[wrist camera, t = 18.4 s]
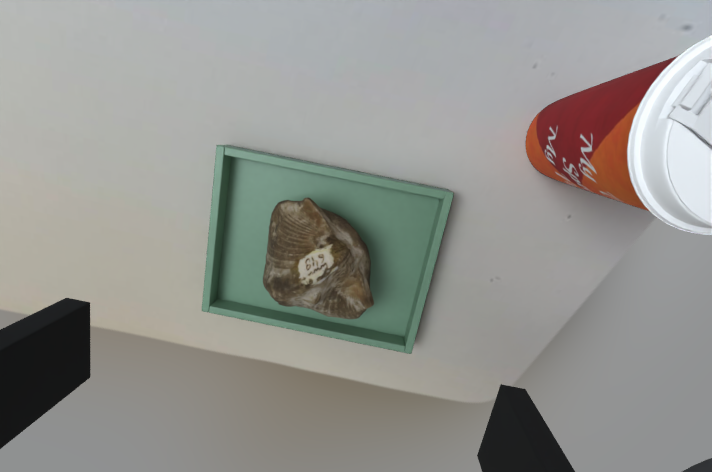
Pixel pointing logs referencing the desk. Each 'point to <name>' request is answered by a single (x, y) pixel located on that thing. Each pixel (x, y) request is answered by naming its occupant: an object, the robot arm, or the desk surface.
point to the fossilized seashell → (316, 261)
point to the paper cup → (638, 139)
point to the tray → (345, 198)
